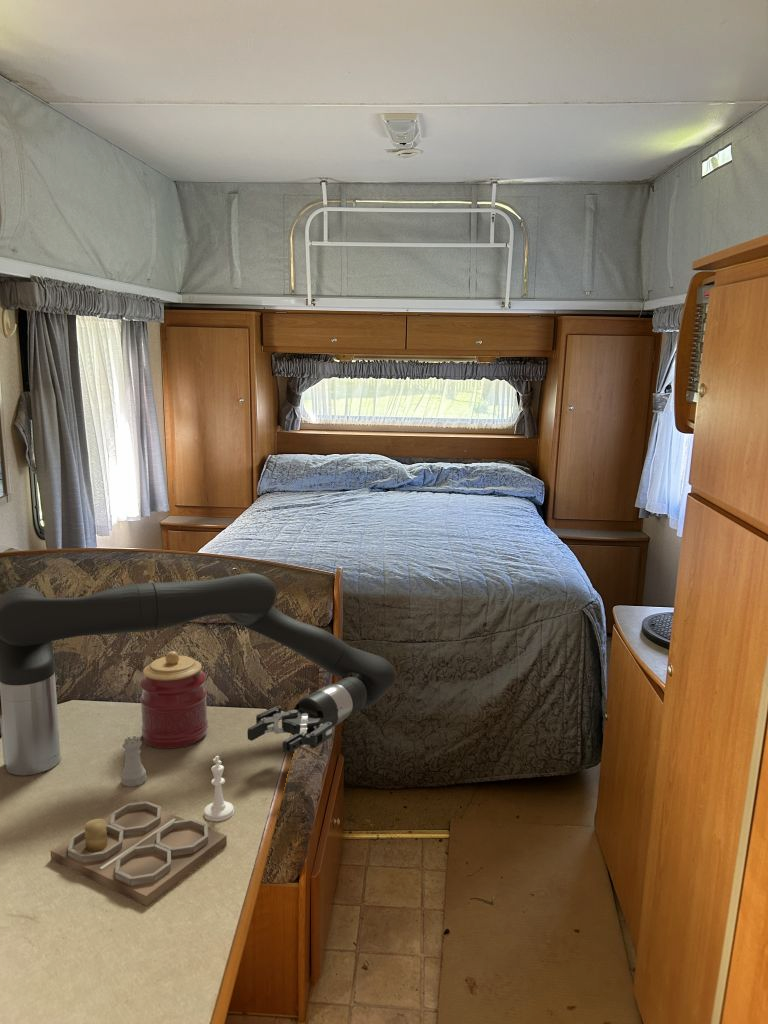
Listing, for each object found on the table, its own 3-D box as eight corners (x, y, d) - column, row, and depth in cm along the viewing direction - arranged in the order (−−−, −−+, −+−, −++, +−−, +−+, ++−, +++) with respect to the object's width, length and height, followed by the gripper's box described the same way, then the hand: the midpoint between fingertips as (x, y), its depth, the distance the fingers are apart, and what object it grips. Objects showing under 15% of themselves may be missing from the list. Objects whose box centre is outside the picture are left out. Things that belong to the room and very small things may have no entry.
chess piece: (221, 801, 126) (219, 746, 125) (240, 811, 123) (238, 755, 122) (197, 814, 122) (195, 757, 121) (216, 825, 119) (214, 767, 118)
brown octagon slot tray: (50, 859, 110) (48, 828, 109) (135, 808, 124) (133, 780, 123) (146, 905, 100) (145, 872, 100) (226, 844, 114) (225, 814, 113)
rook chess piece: (138, 789, 130) (136, 746, 129) (115, 786, 131) (113, 743, 130) (151, 776, 134) (149, 734, 133) (129, 773, 135) (127, 732, 134)
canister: (192, 752, 143) (189, 665, 140) (129, 747, 145) (125, 661, 142) (218, 723, 156) (215, 642, 153) (159, 718, 158) (156, 639, 155)
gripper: (296, 682, 147) (236, 711, 134) (353, 699, 139) (296, 732, 126) (297, 718, 148) (238, 750, 135) (354, 736, 141) (297, 773, 127)
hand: (266, 741), depth 131 cm, fingers open, 8 cm apart
